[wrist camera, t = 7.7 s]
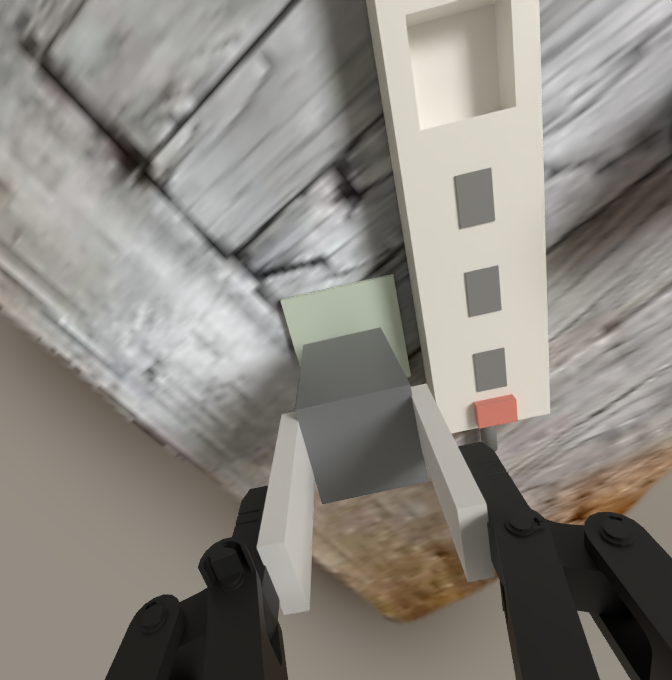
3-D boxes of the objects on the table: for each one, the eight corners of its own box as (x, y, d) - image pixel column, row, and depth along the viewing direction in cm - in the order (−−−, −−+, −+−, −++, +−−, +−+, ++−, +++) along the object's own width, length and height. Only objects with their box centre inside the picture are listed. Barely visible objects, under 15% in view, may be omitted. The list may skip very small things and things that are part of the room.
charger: (303, 337, 25) (293, 410, 16) (377, 320, 24) (410, 384, 15) (320, 402, 26) (320, 504, 17) (390, 386, 26) (428, 481, 17)
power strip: (347, -111, 18) (352, -167, 15) (505, -157, 17) (541, -224, 14) (436, 448, 29) (449, 477, 26) (533, 429, 29) (556, 457, 26)
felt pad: (281, 299, 25) (280, 300, 24) (392, 273, 24) (393, 275, 24) (308, 395, 27) (308, 398, 27) (409, 373, 27) (411, 376, 26)
